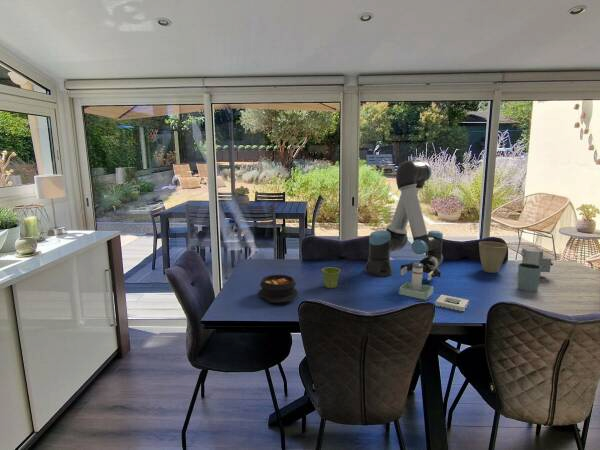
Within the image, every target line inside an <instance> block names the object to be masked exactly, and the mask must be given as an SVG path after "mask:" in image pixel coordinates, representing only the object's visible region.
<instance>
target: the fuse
mask: <svg viewBox="0 0 600 450" xmlns="http://www.w3.org/2000/svg"><path fill="white" fill-rule="evenodd" d="M412 267H413V268H412V271H411V273H412V274H411V282H412V284H411V290H414V291H419V292H422V290H421V287H422V285H423V284H422V283H423V273H424V272H423V264H421V263H419V262H414V263H413V264H412Z"/></svg>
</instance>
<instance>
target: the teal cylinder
mask: <svg viewBox="0 0 600 450" xmlns="http://www.w3.org/2000/svg"><path fill="white" fill-rule="evenodd" d="M517 268H518V269H517V270H518V272H517V288H518V289H520V290H521V291H524V292H537V291H538V288H539V283H540V282H539V281H540V278H541V274H542V272H541V266H539V265H535V264H530V263H522V262H521V263H518V265H517ZM540 273H541V274H540ZM539 277H540V278H539Z"/></svg>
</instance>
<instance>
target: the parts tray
mask: <svg viewBox="0 0 600 450" xmlns="http://www.w3.org/2000/svg"><path fill="white" fill-rule="evenodd" d="M411 284H412V281H406V282H404V283H403V284H402V285H401V286H399V288H398V295H402V296H407V297H412V298H415V299H421V300H424V301H425V300H428V298H430V297H431V296H432V295H433V293H434V286H433V285H427V284H422V287H421V290H422V292H419V291H414V290H411Z"/></svg>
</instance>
